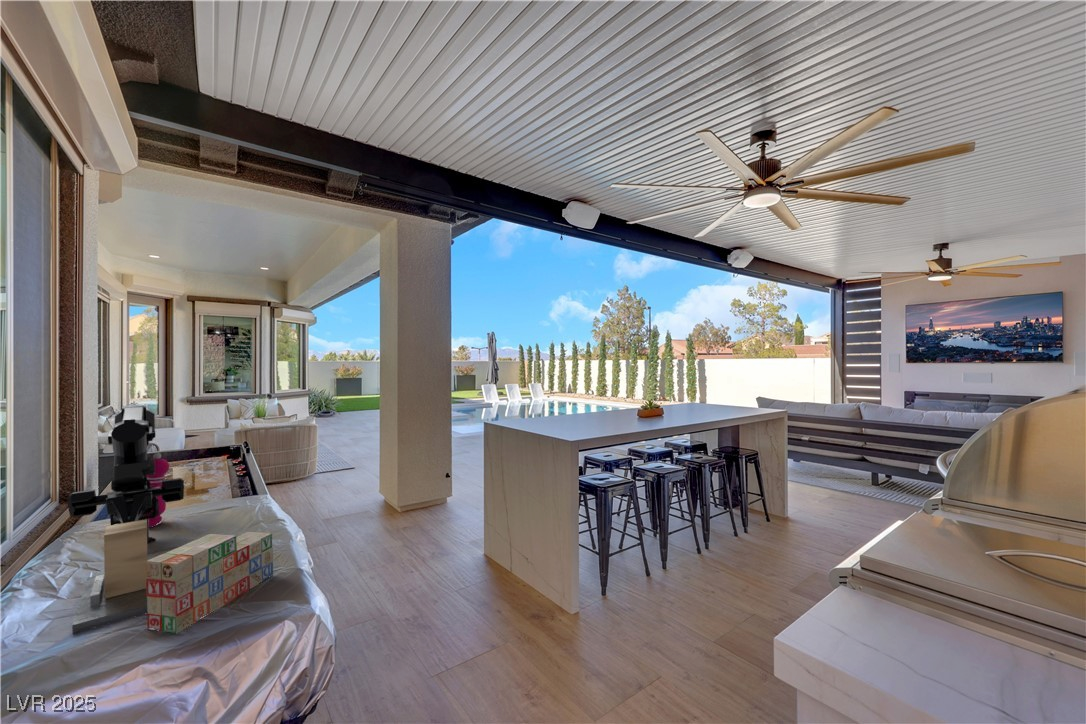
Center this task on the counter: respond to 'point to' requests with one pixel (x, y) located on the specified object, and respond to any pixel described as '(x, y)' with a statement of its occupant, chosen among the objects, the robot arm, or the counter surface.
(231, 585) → the stack of blocks
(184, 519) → the counter surface
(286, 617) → the counter surface
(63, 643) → the counter surface
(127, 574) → the oak block
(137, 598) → the chute
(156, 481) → the pepper mill
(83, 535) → the counter surface
